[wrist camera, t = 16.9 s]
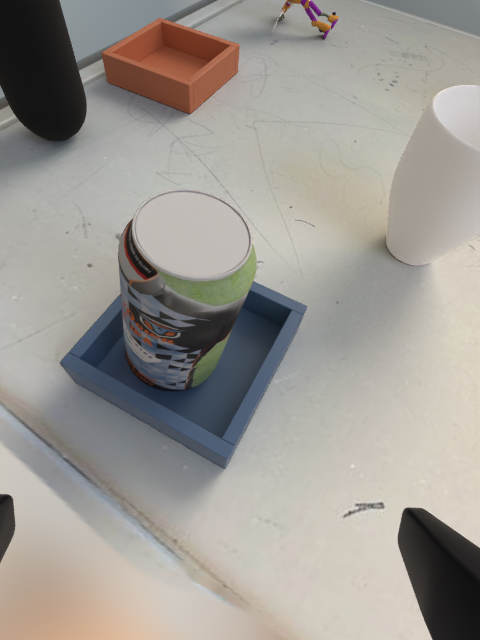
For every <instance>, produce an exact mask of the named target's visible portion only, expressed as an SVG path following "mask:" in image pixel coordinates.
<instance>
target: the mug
mask: <svg viewBox="0 0 480 640" xmlns="http://www.w3.org/2000/svg"><path fill="white" fill-rule="evenodd" d="M479 236H480V86H476V85H460V86H454V87H449V88H446V89H444V90H442V91H440V92H439V93H437V94H436V95H435V96H434V97H433V98H432V99H431V101H430V102H429V104H428V105H427V107H426V109H425V111H424V112H423V114H422V116H421V118H420V120H419V122H418V124H417V126H416V128H415V130H414V132H413V134H412V136H411V138H410V140H409V142H408V144H407V146H406V148H405V150H404V152H403V154H402V157H401V159H400V161H399V163H398V166H397V168H396V171H395V174H394V177H393V181H392V185H391V191H390V198H389V210H388V223H387V235H386V244H387V247H388V250H389V251H390V253H391V254H392V255H393V256H394V257H395V258H397V259H398V260H400V261H402V262H404V263H406V264H409V265H415V266H420V265H425V264H428V263H430V262H432V261H434V260H436V259H438V258H440V257H442V256H443V255H445V254H447V253H449V252H451V251H453V250H455V249H457V248H459V247H461V246H462V245H464V244H466V243H468V242H470V241H472V240H473V239H475V238H477V237H479Z"/></svg>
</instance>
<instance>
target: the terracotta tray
mask: <svg viewBox="0 0 480 640" xmlns="http://www.w3.org/2000/svg"><path fill="white" fill-rule="evenodd" d="M101 54H102V59H103V63H104V68H105V72H106V77H107V82H108V83H111V84H114V85H116V86H119V87H121V88H124V89H127V90H129V91H132V92H134V93H137V94H140V95H142V96H145V97H147V98H150V99H153V100H155V101H158V102H160V103H163V104H166V105H168V106H171V107H173V108H176V109H179V110H181V111H184V112H186V113H189V114H191V113H192V112H193V111H194V110H195V109H197V108H198V107H199V106H200V105H201V104H202V103H203V102H204V101H206V100H207V99H208V98H209V97H210V96H211V95H212V94H214V93H215V92H216V91H217V90H218V89H219V88H220V87H222V86H223V85H224V84H225V83H226V82H227V81H228V80H229V79H231V78H232V77H233V76H234V75H235V74H236V73H237V72H238V60H239V44H236V43H233V42H230V41H227V40H224V39H221V38H218V37H215V36H212V35H209V34H206V33H203V32H200V31H197V30H194V29H191V28H188V27H185V26H182V25H179V24H176V23H173V22H170V21H167V20H164V19H161V18H159V19H157V20H156V21H154V22H152V23H151V24H149V25H147V26H145V27H144V28H142V29H141V30H139V31H137V32H135V33H134V34H132V35H130V36H129V37H127V38H125V39H124V40H122V41H120V42H119V43H117V44H115V45H114V46H112V47H110V48H109V49H107V50H105V51H104V52H102V53H101Z"/></svg>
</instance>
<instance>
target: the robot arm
mask: <svg viewBox="0 0 480 640" xmlns="http://www.w3.org/2000/svg"><path fill="white" fill-rule="evenodd" d="M14 531H15V517H14V505H13V499H12V497H11V496H10V495H7V494H0V562H1V560H2V558H3V556H4V554H5V552H6V550H7V548H8V546H9V544H10V542H11V539H12V537H13V535H14ZM398 545H399V549H400V552H401V555H402V558H403V561H404V564H405V566H406V569H407V572H408V575H409V578H410V581H411V584H412V587H413V590H414V593H415V595H416V598H417V601H418V604H419V607H420V610H421V613H422V615H423V618H424V621H425V623H426V625H427V628H428V630H429V632H430V635H431V637H432V639H433V640H480V548H479V547H478V546H476V545H475V544H473V543H472V542H470V541H469V540H468V539H466V538H465V537H463V536H462V535H460V534H459V533H458V532H456V531H455V530H453V529H452V528H450V527H449V526H448V525H446V524H445V523H443V522H442V521H440V520H439V519H438V518H436V517H435V516H433V515H432V514H430V513H429V512H428V511H426V510H425V509H422V508H405V509H404V511H403V513H402V518H401V523H400V528H399V532H398Z"/></svg>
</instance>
